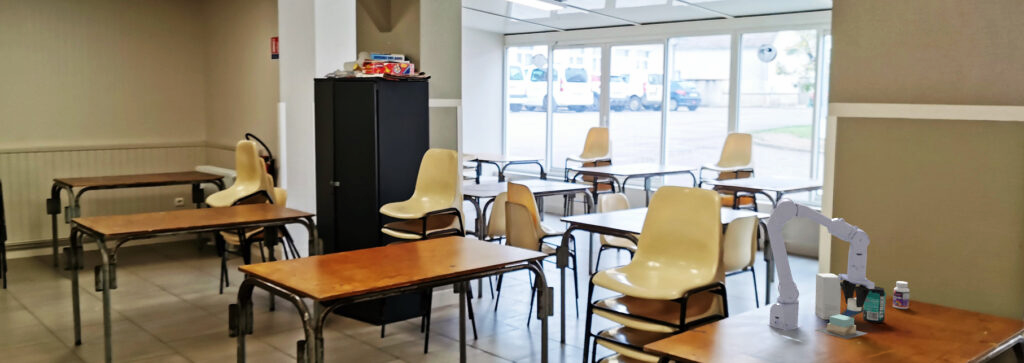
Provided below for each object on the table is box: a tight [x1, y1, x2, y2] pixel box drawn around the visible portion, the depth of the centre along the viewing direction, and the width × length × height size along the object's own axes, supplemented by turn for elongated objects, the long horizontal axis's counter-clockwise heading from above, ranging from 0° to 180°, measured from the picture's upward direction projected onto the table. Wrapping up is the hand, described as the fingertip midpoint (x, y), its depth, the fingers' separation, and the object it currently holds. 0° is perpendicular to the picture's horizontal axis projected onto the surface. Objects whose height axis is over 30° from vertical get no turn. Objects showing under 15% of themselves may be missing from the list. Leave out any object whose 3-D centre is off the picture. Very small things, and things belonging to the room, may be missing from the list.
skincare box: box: [814, 272, 842, 320], centre depth 297 cm, size 8×7×16 cm
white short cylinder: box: [846, 297, 863, 312], centre depth 278 cm, size 4×4×4 cm
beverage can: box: [862, 286, 887, 324], centre depth 293 cm, size 7×7×12 cm
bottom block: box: [826, 322, 857, 336], centre depth 277 cm, size 6×6×2 cm
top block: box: [829, 313, 855, 328], centre depth 277 cm, size 6×6×2 cm
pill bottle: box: [892, 280, 910, 310], centre depth 314 cm, size 5×5×10 cm
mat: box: [814, 326, 868, 340], centre depth 277 cm, size 12×12×1 cm
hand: (854, 305), depth 278 cm, fingers closed on white short cylinder, 4 cm apart
